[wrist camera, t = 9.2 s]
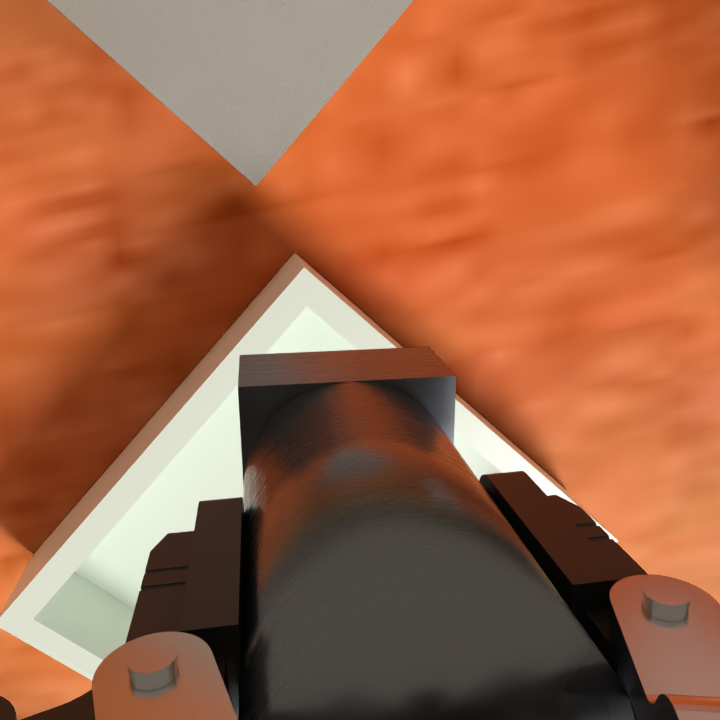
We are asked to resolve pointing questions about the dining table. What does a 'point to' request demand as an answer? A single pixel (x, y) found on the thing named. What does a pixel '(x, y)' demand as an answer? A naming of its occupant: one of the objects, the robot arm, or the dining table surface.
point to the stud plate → (238, 62)
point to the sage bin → (199, 473)
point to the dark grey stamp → (390, 558)
